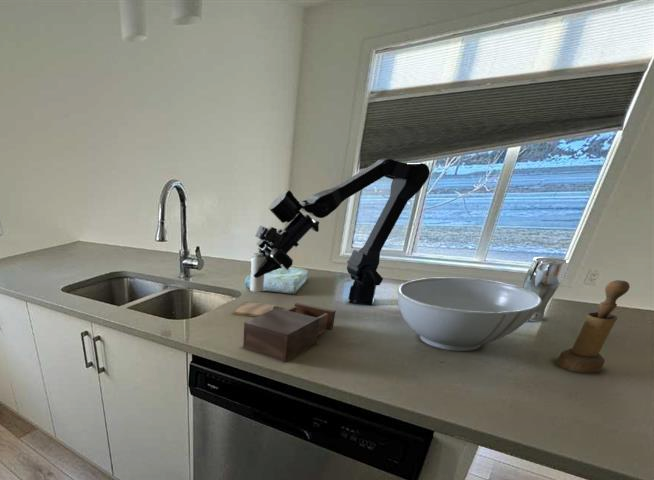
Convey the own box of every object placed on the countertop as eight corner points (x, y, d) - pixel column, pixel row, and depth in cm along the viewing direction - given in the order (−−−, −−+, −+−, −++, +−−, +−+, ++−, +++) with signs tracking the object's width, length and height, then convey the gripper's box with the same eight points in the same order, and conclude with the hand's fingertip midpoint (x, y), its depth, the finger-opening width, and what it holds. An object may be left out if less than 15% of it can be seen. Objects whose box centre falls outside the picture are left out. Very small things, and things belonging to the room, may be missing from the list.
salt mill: (265, 290, 124) (268, 253, 118) (254, 292, 123) (256, 255, 117) (258, 287, 127) (260, 251, 122) (247, 289, 126) (248, 253, 121)
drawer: (297, 319, 117) (299, 301, 114) (335, 328, 109) (338, 309, 106) (269, 333, 110) (270, 314, 107) (307, 344, 102) (309, 324, 99)
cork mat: (275, 307, 129) (275, 305, 129) (265, 317, 122) (265, 315, 122) (245, 304, 134) (245, 301, 134) (234, 313, 127) (234, 311, 127)
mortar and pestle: (547, 360, 87) (585, 278, 78) (576, 357, 87) (617, 274, 78) (579, 375, 81) (624, 287, 72) (609, 371, 81) (658, 283, 72)
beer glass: (537, 312, 109) (561, 256, 101) (550, 322, 103) (576, 263, 96) (506, 312, 111) (527, 256, 104) (517, 321, 105) (540, 263, 98)
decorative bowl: (538, 372, 83) (563, 317, 77) (390, 357, 94) (402, 307, 88) (502, 325, 104) (520, 279, 98) (384, 317, 115) (394, 275, 109)
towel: (308, 279, 153) (310, 266, 150) (294, 296, 137) (296, 281, 135) (261, 276, 162) (262, 263, 159) (243, 291, 146) (243, 277, 144)
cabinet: (274, 332, 112) (276, 307, 109) (315, 344, 103) (319, 318, 100) (243, 347, 105) (244, 322, 102) (285, 361, 96) (287, 334, 93)
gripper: (264, 211, 122) (228, 251, 128) (284, 218, 106) (241, 265, 112) (288, 235, 126) (251, 273, 132) (311, 246, 110) (268, 290, 116)
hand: (252, 275), depth 123 cm, fingers closed on salt mill, 4 cm apart
